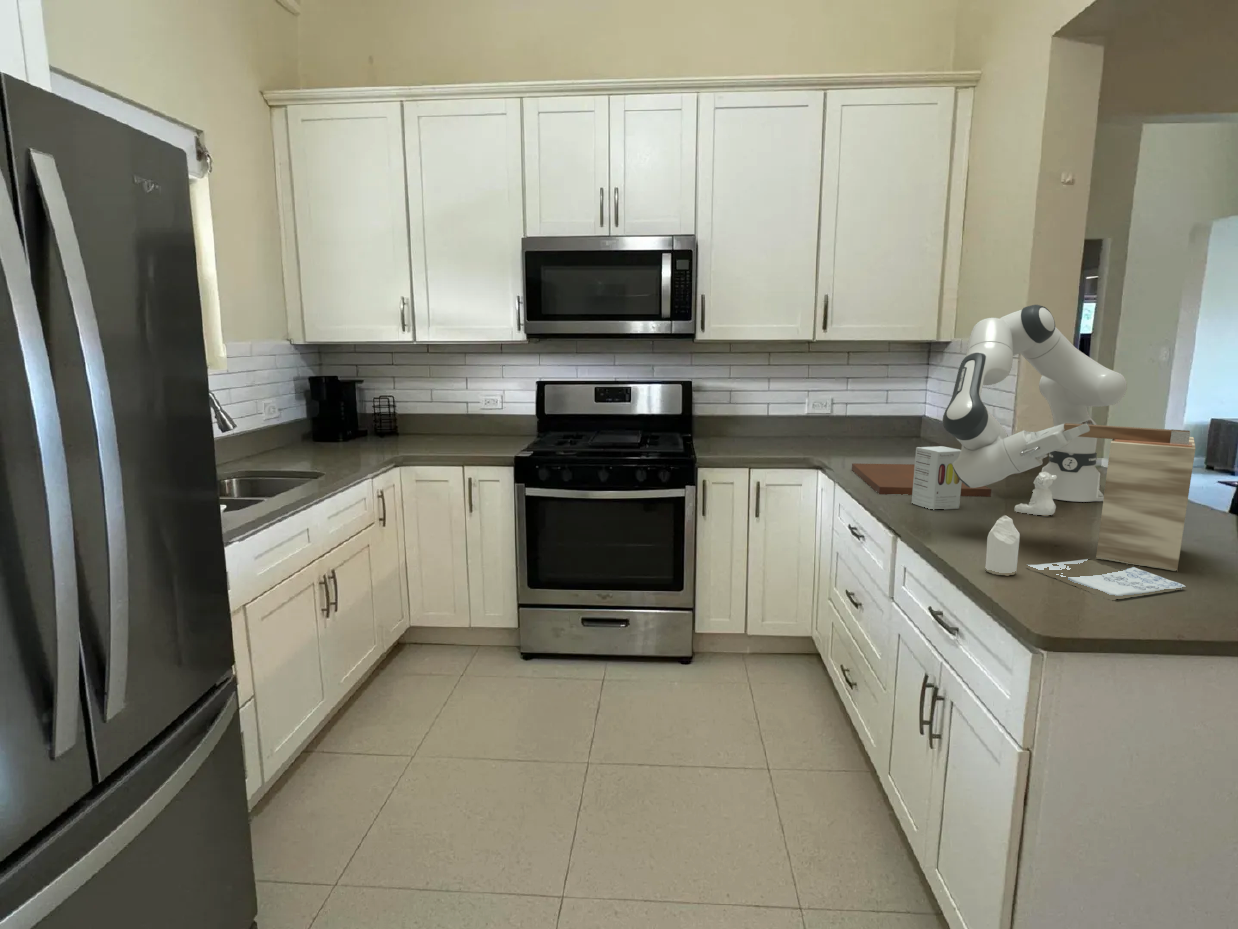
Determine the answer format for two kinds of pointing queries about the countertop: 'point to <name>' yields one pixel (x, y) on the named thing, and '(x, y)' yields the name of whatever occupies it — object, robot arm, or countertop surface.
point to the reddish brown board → (901, 479)
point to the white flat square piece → (1117, 580)
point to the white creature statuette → (1040, 497)
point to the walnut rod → (1134, 433)
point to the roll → (1002, 546)
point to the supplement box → (936, 478)
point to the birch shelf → (1145, 502)
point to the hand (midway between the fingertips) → (1090, 424)
